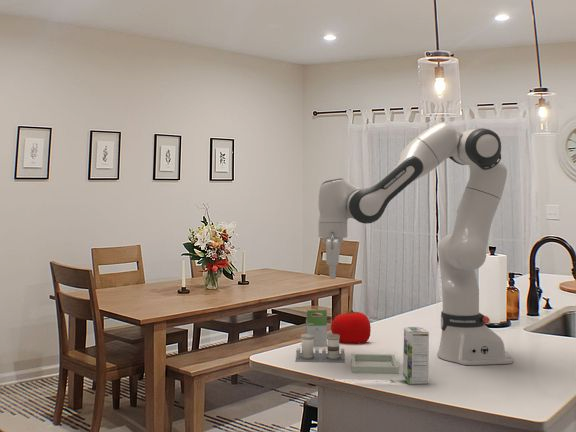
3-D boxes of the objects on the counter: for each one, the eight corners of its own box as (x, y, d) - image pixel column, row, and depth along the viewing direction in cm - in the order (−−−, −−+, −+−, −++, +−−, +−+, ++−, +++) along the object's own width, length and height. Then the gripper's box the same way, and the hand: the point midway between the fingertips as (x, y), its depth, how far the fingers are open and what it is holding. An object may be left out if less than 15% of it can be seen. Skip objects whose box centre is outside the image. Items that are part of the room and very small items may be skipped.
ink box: (326, 346, 194) (325, 307, 194) (327, 350, 190) (327, 310, 190) (305, 347, 194) (305, 308, 194) (306, 350, 190) (306, 310, 190)
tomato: (360, 350, 189) (360, 316, 189) (325, 344, 197) (325, 311, 197) (378, 342, 199) (377, 310, 199) (343, 337, 207) (343, 306, 207)
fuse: (339, 356, 178) (339, 333, 178) (339, 359, 175) (339, 337, 174) (327, 355, 179) (327, 333, 179) (326, 359, 175) (326, 336, 175)
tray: (394, 364, 173) (394, 354, 173) (398, 377, 161) (398, 367, 160) (351, 363, 175) (351, 353, 175) (351, 376, 162) (351, 366, 162)
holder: (344, 357, 181) (344, 331, 181) (344, 366, 171) (344, 339, 171) (297, 356, 183) (297, 331, 183) (295, 365, 173) (294, 338, 173)
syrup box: (402, 378, 160) (402, 326, 160) (423, 377, 161) (423, 326, 160) (408, 384, 155) (408, 331, 154) (429, 384, 155) (429, 331, 154)
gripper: (343, 233, 165) (343, 281, 165) (343, 229, 185) (343, 272, 186) (321, 233, 165) (321, 281, 166) (323, 229, 186) (323, 271, 186)
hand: (332, 276), depth 176 cm, fingers open, 8 cm apart
